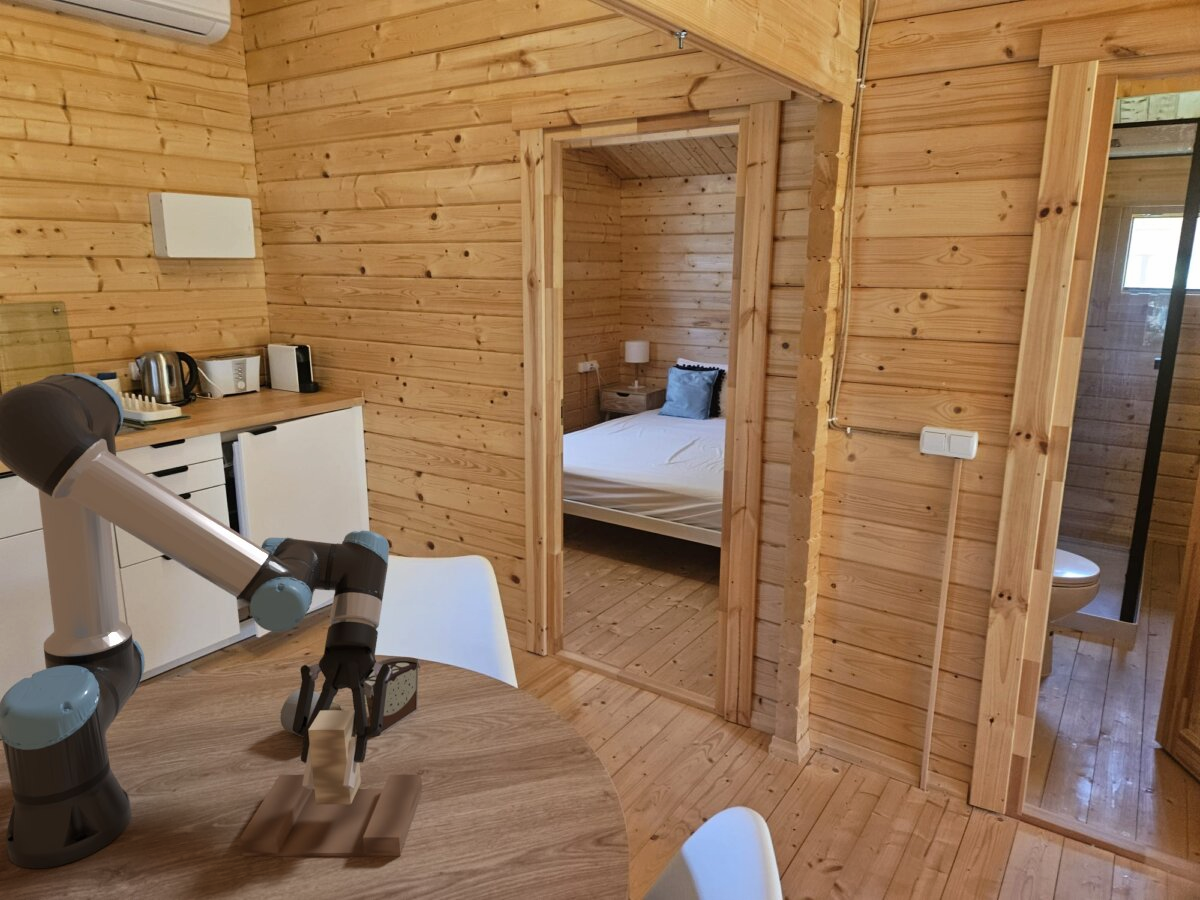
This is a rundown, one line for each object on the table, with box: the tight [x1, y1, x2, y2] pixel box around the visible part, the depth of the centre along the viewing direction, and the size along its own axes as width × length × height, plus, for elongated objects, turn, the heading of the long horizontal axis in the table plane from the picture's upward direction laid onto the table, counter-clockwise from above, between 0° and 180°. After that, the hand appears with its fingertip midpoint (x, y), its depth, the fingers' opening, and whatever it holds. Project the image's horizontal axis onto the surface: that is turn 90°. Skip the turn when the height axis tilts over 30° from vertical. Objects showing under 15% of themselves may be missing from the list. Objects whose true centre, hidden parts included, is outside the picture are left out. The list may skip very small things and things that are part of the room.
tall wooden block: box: [308, 709, 362, 805], centre depth 117 cm, size 5×5×12 cm
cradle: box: [240, 774, 423, 857], centre depth 119 cm, size 22×14×3 cm, turn 90°
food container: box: [364, 656, 421, 736], centre depth 145 cm, size 12×6×10 cm, turn 149°
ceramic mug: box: [279, 688, 345, 738], centre depth 142 cm, size 11×8×8 cm
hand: (328, 786), depth 114 cm, fingers closed on tall wooden block, 5 cm apart
